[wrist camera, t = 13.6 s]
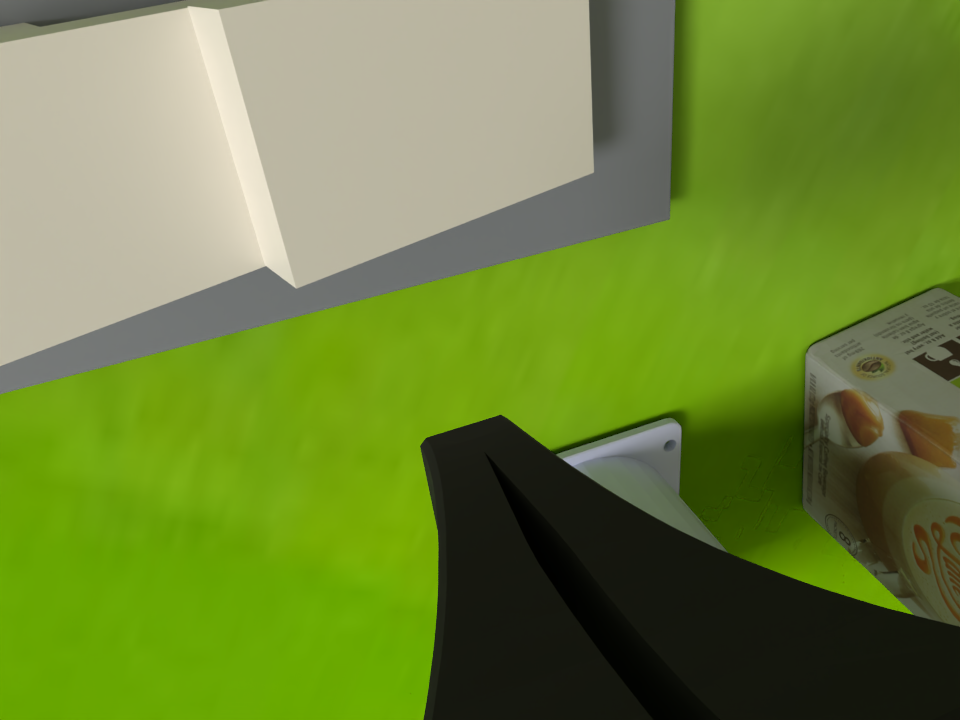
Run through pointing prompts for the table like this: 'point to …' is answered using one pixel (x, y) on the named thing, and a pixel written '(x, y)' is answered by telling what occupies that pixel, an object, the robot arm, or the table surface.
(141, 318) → the slate board
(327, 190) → the domino
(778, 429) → the table surface
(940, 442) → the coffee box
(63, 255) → the domino
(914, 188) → the table surface
